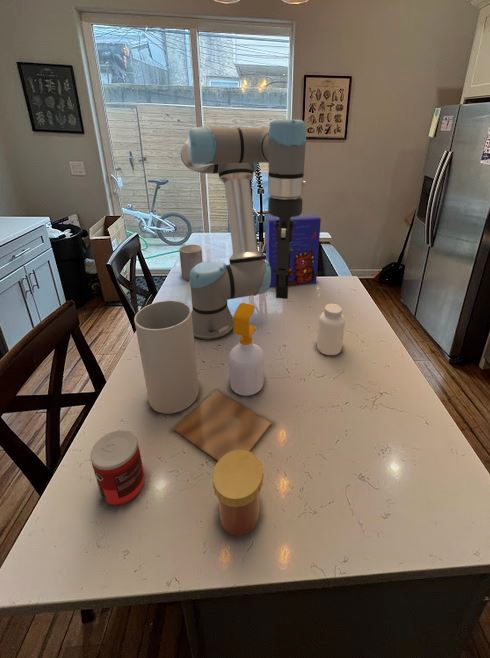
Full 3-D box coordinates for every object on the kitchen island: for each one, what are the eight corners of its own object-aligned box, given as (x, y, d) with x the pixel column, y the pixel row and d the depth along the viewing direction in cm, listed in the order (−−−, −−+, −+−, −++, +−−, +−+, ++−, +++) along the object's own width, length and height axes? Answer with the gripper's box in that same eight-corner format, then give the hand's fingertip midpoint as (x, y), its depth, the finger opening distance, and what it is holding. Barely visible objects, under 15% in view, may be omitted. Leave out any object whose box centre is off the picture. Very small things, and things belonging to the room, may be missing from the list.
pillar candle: (186, 270, 156) (184, 241, 150) (206, 272, 155) (204, 242, 149) (178, 279, 147) (174, 248, 141) (199, 281, 146) (196, 250, 140)
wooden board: (173, 429, 77) (173, 428, 76) (215, 392, 87) (215, 390, 87) (232, 472, 68) (232, 471, 67) (271, 424, 78) (271, 422, 78)
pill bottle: (341, 358, 101) (346, 316, 95) (315, 354, 102) (318, 313, 97) (342, 342, 108) (346, 302, 102) (317, 338, 110) (321, 299, 104)
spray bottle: (268, 376, 93) (269, 301, 83) (255, 400, 85) (254, 320, 75) (239, 368, 96) (237, 295, 86) (224, 391, 88) (220, 312, 78)
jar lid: (202, 487, 56) (201, 479, 55) (235, 448, 63) (235, 441, 62) (241, 519, 52) (241, 510, 51) (272, 474, 58) (272, 466, 58)
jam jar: (211, 519, 60) (207, 480, 56) (237, 485, 65) (235, 447, 61) (242, 545, 56) (240, 506, 52) (266, 507, 62) (267, 469, 58)
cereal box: (311, 277, 152) (316, 214, 141) (316, 283, 147) (320, 218, 135) (265, 281, 147) (266, 216, 136) (268, 287, 142) (269, 220, 130)
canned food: (110, 468, 68) (100, 430, 64) (150, 465, 69) (142, 428, 64) (94, 508, 61) (81, 469, 57) (138, 505, 62) (129, 466, 57)
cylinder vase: (147, 385, 89) (133, 306, 79) (194, 373, 94) (186, 296, 84) (150, 422, 78) (134, 335, 69) (203, 406, 83) (195, 322, 73)
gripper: (303, 210, 61) (298, 312, 69) (302, 186, 82) (298, 267, 90) (262, 208, 61) (262, 310, 70) (272, 185, 82) (271, 266, 91)
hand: (282, 286), depth 80 cm, fingers open, 10 cm apart
